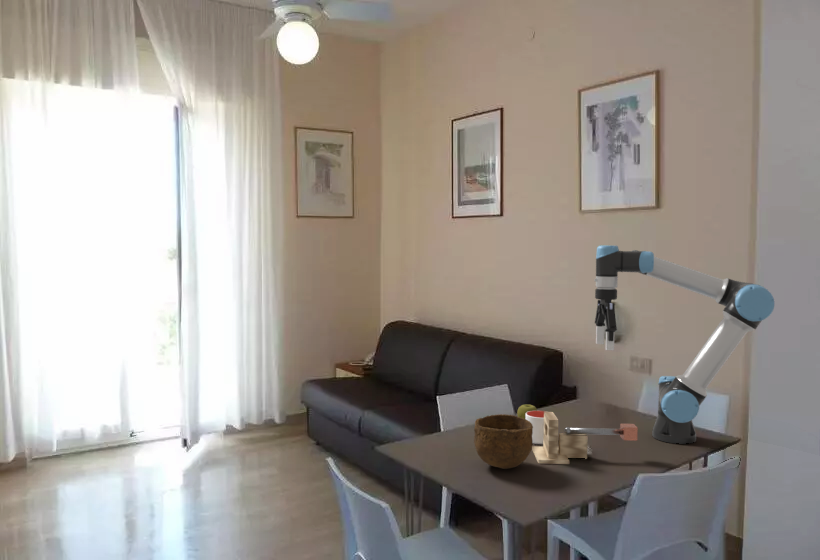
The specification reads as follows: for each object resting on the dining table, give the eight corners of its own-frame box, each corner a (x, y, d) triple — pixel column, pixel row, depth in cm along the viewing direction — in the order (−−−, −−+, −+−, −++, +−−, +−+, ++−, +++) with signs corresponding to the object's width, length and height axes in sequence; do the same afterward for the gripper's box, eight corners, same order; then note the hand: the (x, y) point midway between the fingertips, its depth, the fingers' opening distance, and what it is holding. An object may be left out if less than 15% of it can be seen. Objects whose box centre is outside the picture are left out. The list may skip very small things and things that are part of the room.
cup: (553, 446, 229) (553, 418, 228) (524, 444, 231) (525, 416, 230) (552, 438, 238) (553, 411, 238) (525, 436, 240) (525, 409, 240)
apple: (538, 426, 254) (539, 408, 253) (518, 425, 254) (518, 407, 253) (535, 420, 261) (535, 403, 261) (515, 420, 261) (516, 403, 261)
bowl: (519, 482, 194) (520, 433, 193) (463, 470, 204) (464, 423, 203) (541, 464, 210) (542, 419, 209) (488, 453, 220) (489, 410, 219)
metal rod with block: (633, 436, 218) (633, 423, 218) (637, 440, 214) (637, 427, 214) (562, 435, 219) (563, 422, 219) (565, 439, 215) (565, 426, 214)
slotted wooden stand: (581, 450, 224) (582, 411, 223) (591, 464, 210) (592, 422, 209) (532, 449, 225) (532, 410, 224) (538, 463, 211) (539, 421, 210)
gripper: (587, 285, 244) (586, 341, 245) (604, 290, 219) (603, 352, 220) (607, 285, 243) (605, 341, 245) (627, 291, 219) (625, 353, 220)
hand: (604, 347), depth 232 cm, fingers open, 13 cm apart
